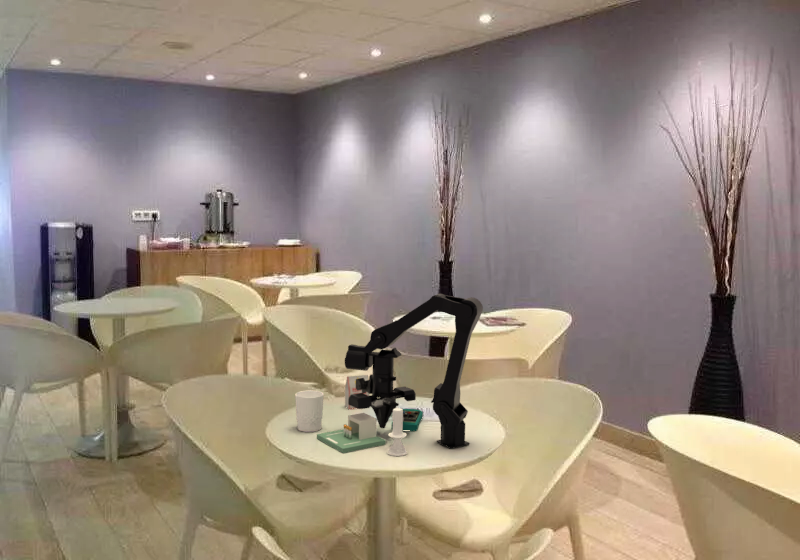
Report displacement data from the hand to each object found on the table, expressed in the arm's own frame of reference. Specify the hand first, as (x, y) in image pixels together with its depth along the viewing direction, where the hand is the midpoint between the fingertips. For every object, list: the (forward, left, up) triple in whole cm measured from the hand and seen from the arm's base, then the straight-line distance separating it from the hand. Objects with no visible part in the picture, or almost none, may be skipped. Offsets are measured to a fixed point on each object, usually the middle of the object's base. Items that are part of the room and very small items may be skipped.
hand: (382, 428), depth 205 cm
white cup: (+16, +14, -2) cm, 21 cm away
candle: (-14, +4, -2) cm, 15 cm away
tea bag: (+28, -9, -2) cm, 29 cm away
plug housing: (0, +7, -1) cm, 7 cm away
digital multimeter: (+5, -12, -3) cm, 14 cm away
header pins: (0, +11, -1) cm, 11 cm away
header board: (0, +10, -2) cm, 10 cm away
